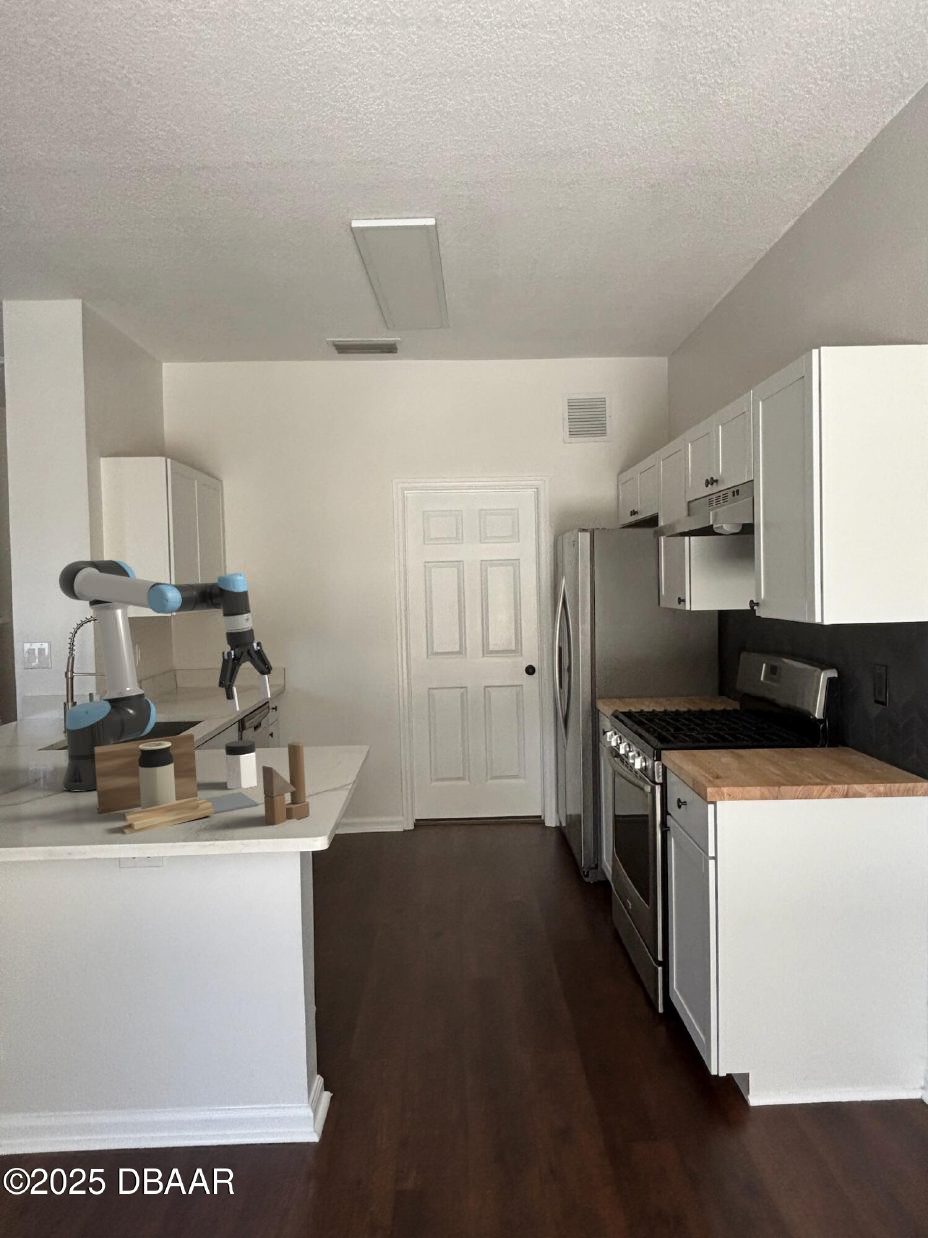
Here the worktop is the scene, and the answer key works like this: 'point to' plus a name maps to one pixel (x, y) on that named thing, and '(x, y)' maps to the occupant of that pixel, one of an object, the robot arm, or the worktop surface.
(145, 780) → the travel mug
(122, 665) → the robot arm
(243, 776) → the jar
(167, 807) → the offcut stack
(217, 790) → the worktop surface
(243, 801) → the mat
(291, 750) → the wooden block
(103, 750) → the wooden board
